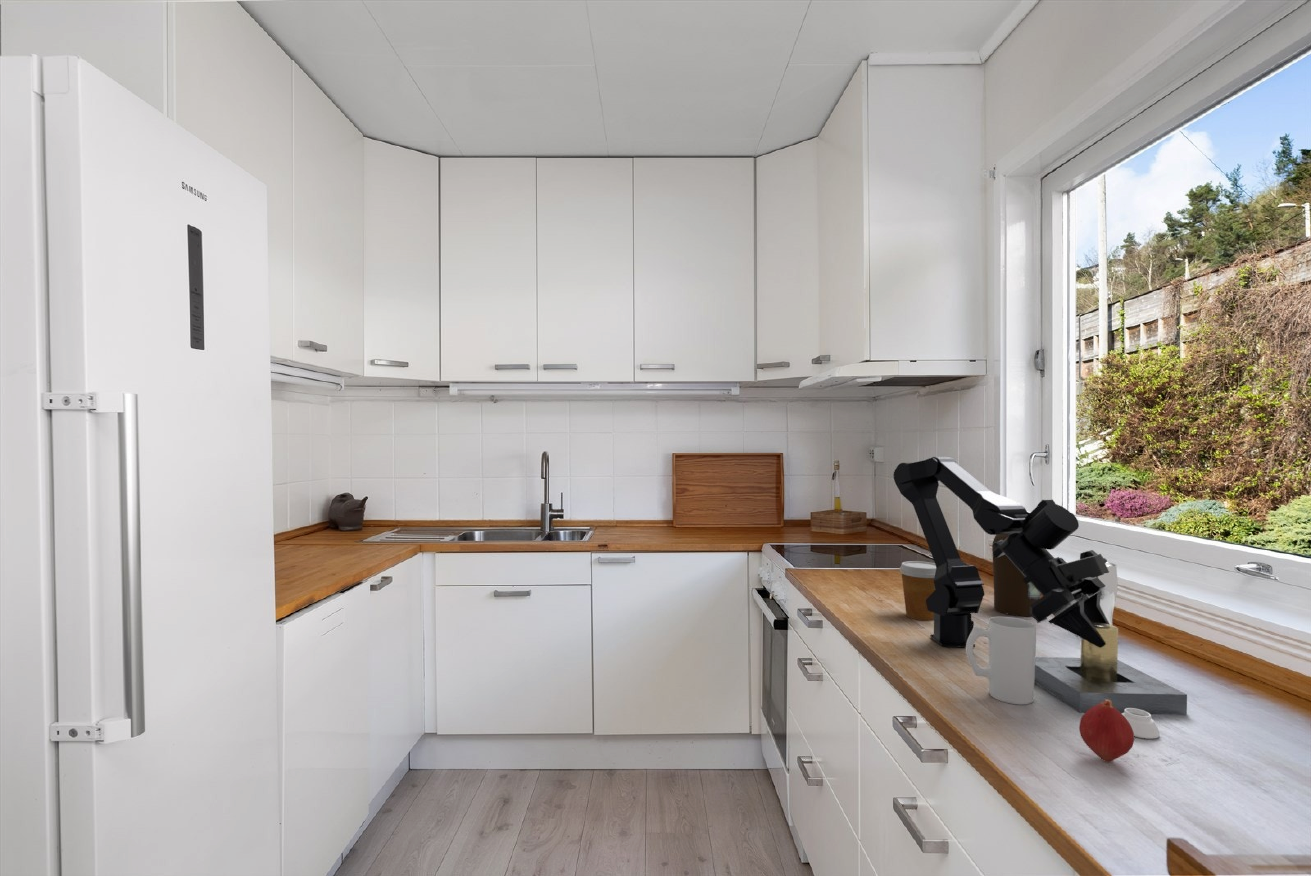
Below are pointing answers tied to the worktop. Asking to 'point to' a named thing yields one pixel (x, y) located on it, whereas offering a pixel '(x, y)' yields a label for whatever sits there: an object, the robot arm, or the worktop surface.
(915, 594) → the disposable coffee cup
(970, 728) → the worktop surface
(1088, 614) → the robot arm
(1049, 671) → the plate
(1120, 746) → the onion
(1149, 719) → the white jar
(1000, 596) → the olive oil
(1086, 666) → the brass bushing
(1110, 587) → the beer glass
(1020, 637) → the mug
